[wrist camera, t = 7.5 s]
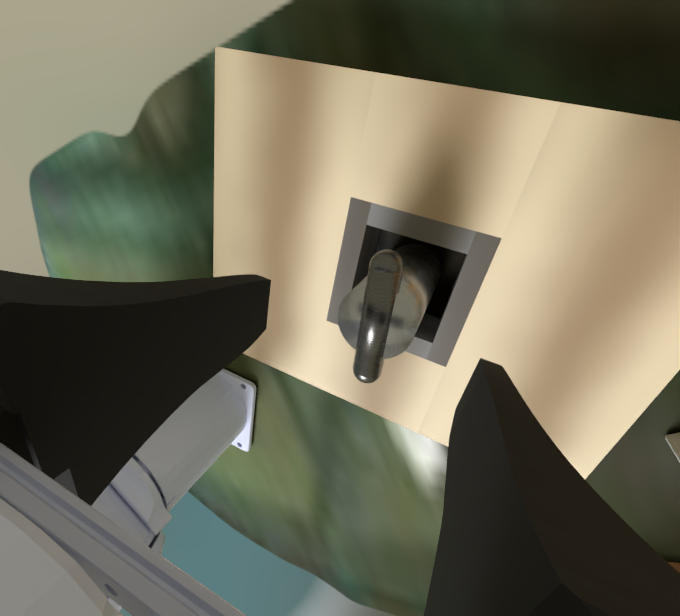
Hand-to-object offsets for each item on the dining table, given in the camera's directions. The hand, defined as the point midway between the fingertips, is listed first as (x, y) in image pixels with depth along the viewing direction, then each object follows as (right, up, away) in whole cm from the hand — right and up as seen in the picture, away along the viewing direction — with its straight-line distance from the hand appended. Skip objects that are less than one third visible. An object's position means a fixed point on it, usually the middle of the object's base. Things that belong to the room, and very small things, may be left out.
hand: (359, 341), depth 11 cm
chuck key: (+3, +3, +7) cm, 9 cm away
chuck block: (+3, +3, +7) cm, 9 cm away
